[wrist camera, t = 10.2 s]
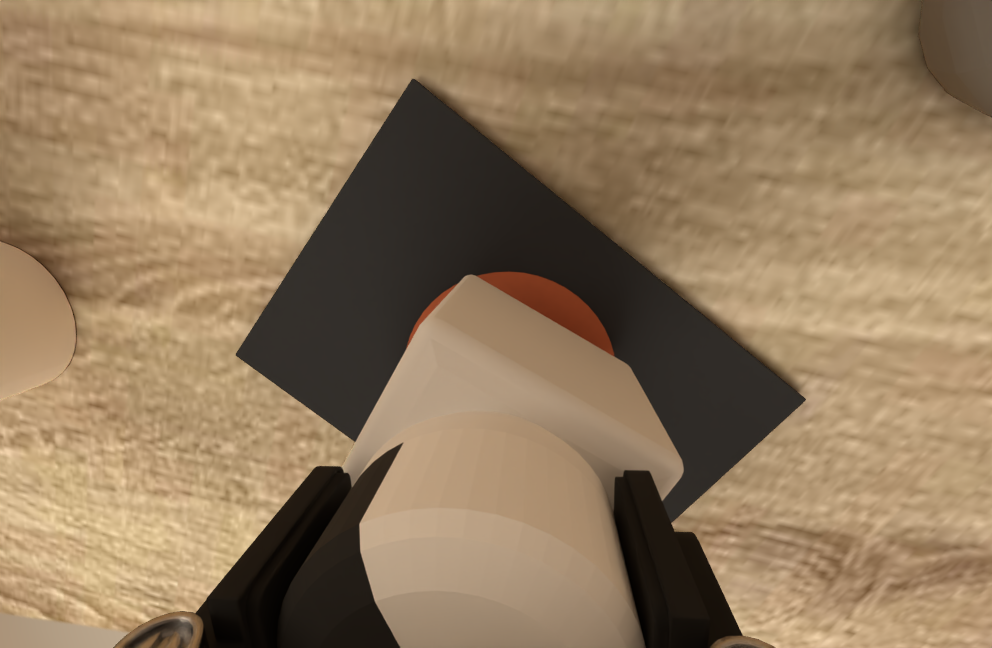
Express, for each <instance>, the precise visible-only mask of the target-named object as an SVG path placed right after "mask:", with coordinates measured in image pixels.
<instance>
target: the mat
mask: <svg viewBox="0 0 992 648" xmlns="http://www.w3.org/2000/svg"><path fill="white" fill-rule="evenodd" d="M467 275H475V276H477V277H479V278H480V279H482V280H484V281H486V282H487V283H489V284H491V285H492V286H494V287H496V288H498V289H499V290H501V291H503V292H504V293H506V294H508V295H510V296H511V297H513V298H515V299H516V300H518V301H520V302H521V303H523V304H525V305H527V306H528V307H530V308H532V309H533V310H535V311H537V312H539V313H540V314H542V315H544V316H545V317H547V318H549V319H551V320H552V321H554V322H556V323H557V324H559V325H561V326H563V327H564V328H566V329H568V330H569V331H571V332H573V333H575V334H576V335H578V336H580V337H581V338H583V339H585V340H587V341H588V342H590V343H592V344H593V345H595V346H597V347H599V348H600V349H602V350H604V351H605V352H607V353H609V354H610V355H612V356H614V357H616V358H617V359H619V360H621V361H622V362H624V363H626V364H627V365H628V366H629V367H630V368H631V369H632V371H633V373H634V375H635V376H636V378H637V380H638V382H639V384H640V385H641V387H642V389H643V391H644V393H645V394H646V396H647V398H648V400H649V402H650V403H651V405H652V407H653V409H654V411H655V412H656V414H657V416H658V418H659V420H660V421H661V423H662V425H663V427H664V429H665V430H666V432H667V434H668V436H669V438H670V439H671V441H672V443H673V445H674V447H675V448H676V450H677V452H678V454H679V456H680V457H681V459H682V462H683V468H684V472H683V474H682V477H681V478H680V480H679V481H678V482H677V483H676V485H675V486H674V487H673V488H672V490H671V491H670V492H669V493H668V494H667V496H666V497H665V498H664V499H663V501H662V502H663V505H664V507H665V510H666V512H667V514H668V517H669V519H670V522H671V523H672V522H673V521H674V520H675V519H676V518H677V517H678V516H680V515H681V514H682V513H683V512H684V511H685V510H686V509H687V508H688V507H689V506H691V505H692V504H693V503H694V502H695V501H696V500H697V499H698V498H699V497H700V496H701V495H703V494H704V493H705V492H706V491H707V490H708V489H709V488H710V487H711V486H712V485H714V484H715V483H716V482H717V481H718V480H719V479H720V478H721V477H722V476H723V475H724V474H726V473H727V472H728V471H729V470H730V469H731V468H732V467H733V466H734V465H735V464H737V463H738V462H739V461H740V460H741V459H742V458H743V457H744V456H745V455H746V454H747V453H749V452H750V451H751V450H752V449H753V448H754V447H755V446H756V445H757V444H758V443H760V442H761V441H762V440H763V439H764V438H765V437H766V436H767V435H768V434H769V433H770V432H772V431H773V430H774V429H775V428H776V427H777V426H778V425H779V424H780V423H781V422H783V421H784V420H785V419H786V418H787V417H788V416H789V415H790V414H791V413H792V412H793V411H795V410H796V409H797V408H798V407H799V406H800V405H801V404H802V403H803V402H804V401H805V400H806V399H805V398H804V397H803V396H802V395H800V394H799V393H798V392H797V391H795V390H794V389H793V388H792V387H791V386H789V385H788V384H787V383H786V382H784V381H783V380H782V379H781V378H780V377H778V376H777V375H776V374H775V373H773V372H772V371H771V370H770V369H769V368H767V367H766V366H765V365H764V364H762V363H761V362H760V361H759V360H758V359H756V358H755V357H754V356H753V355H751V354H750V353H749V352H748V351H747V350H745V349H744V348H743V347H742V346H740V345H739V344H738V343H737V342H736V341H734V340H733V339H732V338H731V337H729V336H728V335H727V334H726V333H725V332H723V331H722V330H721V329H720V328H718V327H717V326H716V325H715V324H714V323H712V322H711V321H710V320H709V319H707V318H706V317H705V316H704V315H703V314H701V313H700V312H699V311H698V310H696V309H695V308H694V307H693V306H692V305H690V304H689V303H688V302H687V301H685V300H684V299H683V298H682V297H681V296H679V295H678V294H677V293H676V292H674V291H673V290H672V289H671V288H670V287H668V286H667V285H666V284H665V283H663V282H662V281H661V280H660V279H658V278H657V277H656V276H655V275H654V274H652V273H651V272H650V271H649V270H647V269H646V268H645V267H644V266H643V265H641V264H640V263H639V262H638V261H636V260H635V259H634V258H633V257H632V256H630V255H629V254H628V253H627V252H625V251H624V250H623V249H622V248H621V247H619V246H618V245H617V244H616V243H614V242H613V241H612V240H611V239H610V238H608V237H607V236H606V235H605V234H603V233H602V232H601V231H600V230H599V229H597V228H596V227H595V226H594V225H592V224H591V223H590V222H589V221H588V220H586V219H585V218H584V217H583V216H581V215H580V214H579V213H578V212H577V211H575V210H574V209H573V208H572V207H570V206H569V205H568V204H567V203H566V202H564V201H563V200H562V199H561V198H559V197H558V196H557V195H556V194H555V193H553V192H552V191H551V190H550V189H548V188H547V187H546V186H545V185H544V184H542V183H541V182H540V181H539V180H537V179H536V178H535V177H534V176H533V175H531V174H530V173H529V172H528V171H526V170H525V169H524V168H523V167H522V166H520V165H519V164H518V163H517V162H515V161H514V160H513V159H512V158H511V157H509V156H508V155H507V154H506V153H504V152H503V151H502V150H501V149H500V148H498V147H497V146H496V145H495V144H493V143H492V142H491V141H490V140H489V139H487V138H486V137H485V136H484V135H482V134H481V133H480V132H479V131H478V130H476V129H475V128H474V127H473V126H471V125H470V124H469V123H468V122H467V121H465V120H464V119H463V118H462V117H460V116H459V115H458V114H457V113H455V112H454V111H453V110H452V109H451V108H449V107H448V106H447V105H446V104H444V103H443V102H442V101H441V100H440V99H438V98H437V97H436V96H435V95H433V94H432V93H431V92H430V91H429V90H427V89H426V88H425V87H424V86H422V85H421V84H420V83H419V82H418V81H416V80H415V79H412V80H411V82H410V83H409V85H408V86H407V88H406V90H405V91H404V93H403V94H402V96H401V97H400V99H399V100H398V102H397V104H396V105H395V107H394V108H393V110H392V111H391V113H390V114H389V116H388V118H387V119H386V121H385V122H384V124H383V125H382V127H381V129H380V130H379V132H378V133H377V135H376V136H375V138H374V139H373V141H372V143H371V144H370V146H369V147H368V149H367V150H366V152H365V153H364V155H363V157H362V158H361V160H360V161H359V163H358V164H357V166H356V167H355V169H354V171H353V172H352V174H351V175H350V177H349V178H348V180H347V182H346V183H345V185H344V186H343V188H342V189H341V191H340V192H339V194H338V196H337V197H336V199H335V200H334V202H333V203H332V205H331V206H330V208H329V210H328V211H327V213H326V214H325V216H324V217H323V219H322V220H321V222H320V224H319V225H318V227H317V228H316V230H315V231H314V233H313V235H312V236H311V238H310V239H309V241H308V242H307V244H306V245H305V247H304V249H303V250H302V252H301V253H300V255H299V256H298V258H297V259H296V261H295V263H294V264H293V266H292V267H291V269H290V270H289V272H288V274H287V275H286V277H285V278H284V280H283V281H282V283H281V284H280V286H279V288H278V289H277V291H276V292H275V294H274V295H273V297H272V298H271V300H270V302H269V303H268V305H267V306H266V308H265V309H264V311H263V312H262V314H261V316H260V317H259V319H258V320H257V322H256V323H255V325H254V327H253V328H252V330H251V331H250V333H249V334H248V336H247V337H246V339H245V341H244V342H243V344H242V345H241V347H240V348H239V350H238V351H237V353H236V356H237V357H239V358H240V359H241V360H243V361H244V362H246V363H247V364H248V365H250V366H251V367H252V368H254V369H255V370H257V371H258V372H259V373H261V374H262V375H263V376H265V377H266V378H268V379H269V380H270V381H272V382H273V383H275V384H276V385H277V386H279V387H280V388H281V389H283V390H284V391H286V392H287V393H288V394H290V395H291V396H293V397H294V398H295V399H297V400H298V401H299V402H301V403H302V404H304V405H305V406H306V407H308V408H309V409H311V410H312V411H313V412H315V413H316V414H317V415H319V416H320V417H322V418H323V419H324V420H326V421H327V422H329V423H330V424H331V425H333V426H334V427H335V428H337V429H338V430H340V431H341V432H342V433H344V434H345V435H347V436H348V437H349V438H351V439H352V440H353V441H355V442H356V440H357V438H358V436H359V434H360V433H361V431H362V429H363V427H364V425H365V424H366V422H367V420H368V418H369V416H370V414H371V413H372V411H373V409H374V407H375V405H376V404H377V402H378V400H379V398H380V396H381V394H382V393H383V391H384V389H385V387H386V385H387V384H388V382H389V380H390V378H391V376H392V374H393V373H394V371H395V369H396V367H397V365H398V364H399V362H400V360H401V358H402V356H403V354H404V353H405V351H406V349H407V347H408V345H409V344H410V342H411V340H412V338H413V336H414V334H415V333H416V331H417V329H418V327H419V325H420V324H421V323H422V322H423V321H424V320H425V319H426V318H427V317H428V315H429V314H430V313H431V312H432V311H433V310H434V309H435V308H436V307H437V306H438V305H439V304H440V303H441V301H442V300H443V299H444V298H445V297H446V296H447V295H448V294H449V293H450V292H451V291H452V290H453V289H454V287H455V286H456V285H457V284H458V283H459V282H460V281H461V280H462V279H463V278H464V277H465V276H467Z"/></svg>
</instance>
